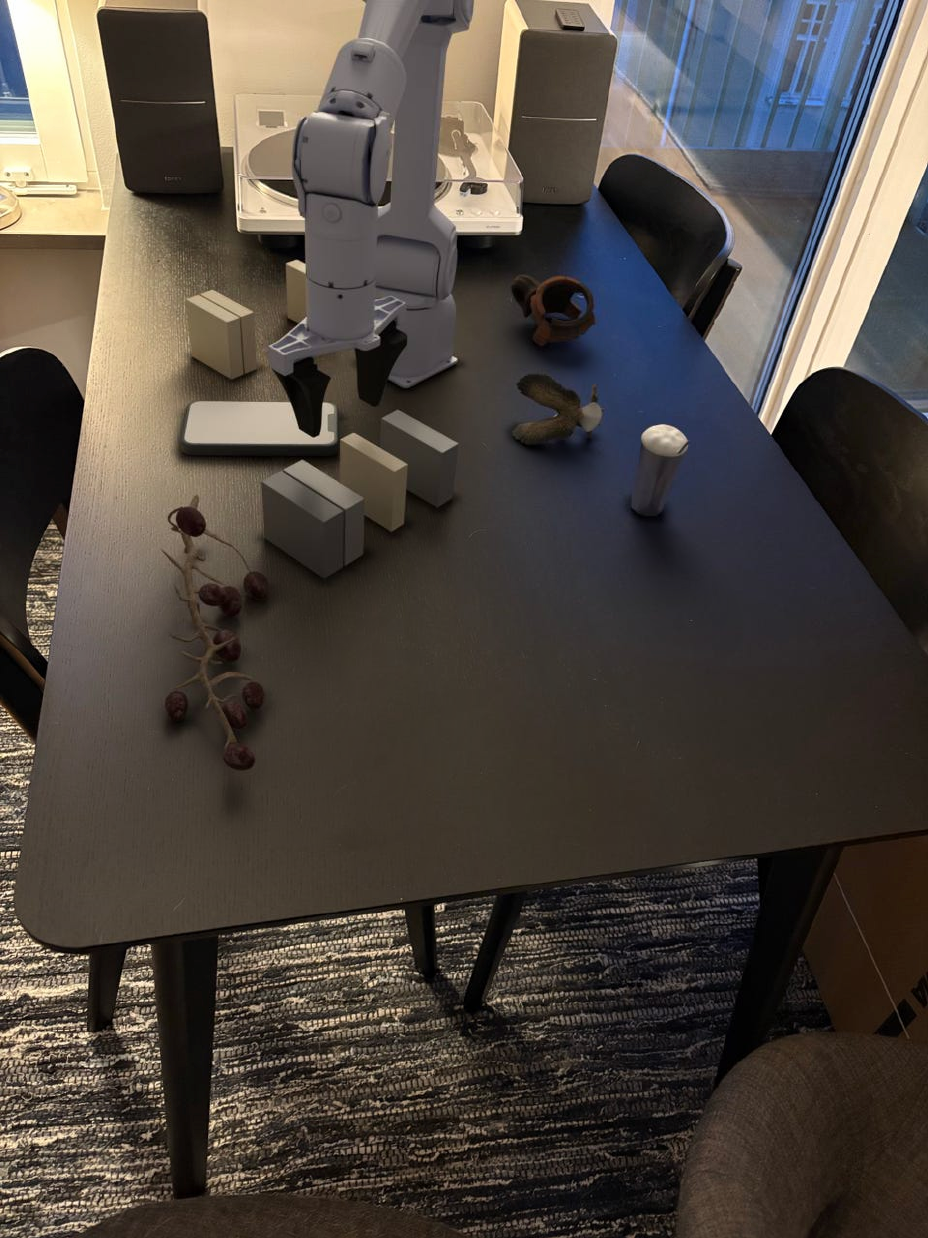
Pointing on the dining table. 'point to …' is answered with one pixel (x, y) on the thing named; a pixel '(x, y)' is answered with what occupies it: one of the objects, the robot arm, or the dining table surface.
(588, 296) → the rusty ring housing
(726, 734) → the dining table surface
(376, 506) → the cream square block
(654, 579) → the dining table surface
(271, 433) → the grey smartphone
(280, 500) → the grey books
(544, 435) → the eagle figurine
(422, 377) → the robot arm
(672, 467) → the milkshake
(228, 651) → the decorative branch
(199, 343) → the cream books
